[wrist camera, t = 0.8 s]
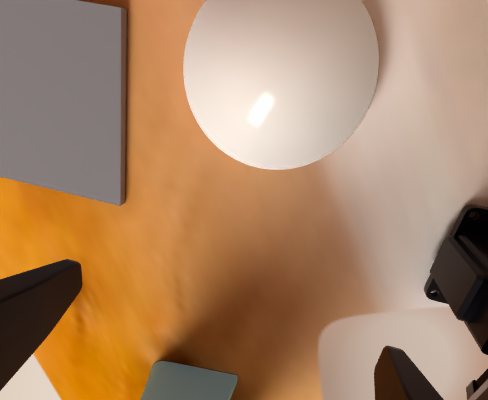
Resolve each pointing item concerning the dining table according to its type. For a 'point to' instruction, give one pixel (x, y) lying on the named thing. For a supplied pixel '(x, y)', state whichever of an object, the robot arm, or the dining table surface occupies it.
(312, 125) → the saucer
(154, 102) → the dining table surface
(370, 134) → the dining table surface
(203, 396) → the vase
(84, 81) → the coaster
